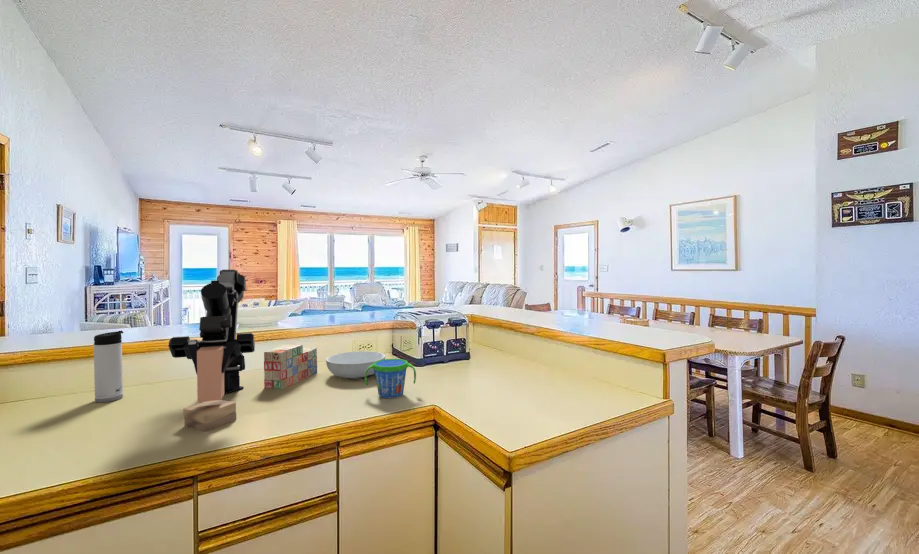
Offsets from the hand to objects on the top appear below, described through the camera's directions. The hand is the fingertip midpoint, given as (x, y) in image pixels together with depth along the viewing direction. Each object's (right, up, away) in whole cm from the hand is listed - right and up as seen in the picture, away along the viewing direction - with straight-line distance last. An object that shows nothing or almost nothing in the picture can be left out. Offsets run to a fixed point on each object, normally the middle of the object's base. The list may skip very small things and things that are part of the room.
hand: (210, 373), depth 99 cm
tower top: (-1, -11, +2) cm, 11 cm away
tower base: (-1, -14, +2) cm, 14 cm away
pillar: (-1, -7, +1) cm, 7 cm away
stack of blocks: (+4, -12, +40) cm, 42 cm away
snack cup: (+41, -13, +24) cm, 49 cm away
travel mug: (-42, -13, +19) cm, 48 cm away
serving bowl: (+24, -12, +46) cm, 54 cm away
